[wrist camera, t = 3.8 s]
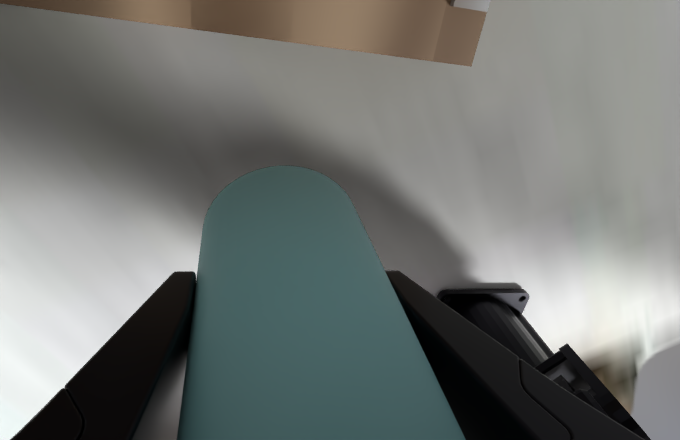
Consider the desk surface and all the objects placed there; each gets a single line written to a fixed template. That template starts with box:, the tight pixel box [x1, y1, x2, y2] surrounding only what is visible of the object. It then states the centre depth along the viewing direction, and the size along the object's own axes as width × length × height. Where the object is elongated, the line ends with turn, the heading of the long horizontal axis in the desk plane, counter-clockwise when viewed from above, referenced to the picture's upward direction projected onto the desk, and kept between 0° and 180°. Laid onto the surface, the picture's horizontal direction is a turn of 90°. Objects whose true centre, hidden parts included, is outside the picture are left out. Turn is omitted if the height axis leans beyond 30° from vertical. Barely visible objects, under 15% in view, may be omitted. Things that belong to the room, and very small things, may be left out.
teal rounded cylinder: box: [177, 166, 466, 440], centre depth 8 cm, size 4×4×8 cm
